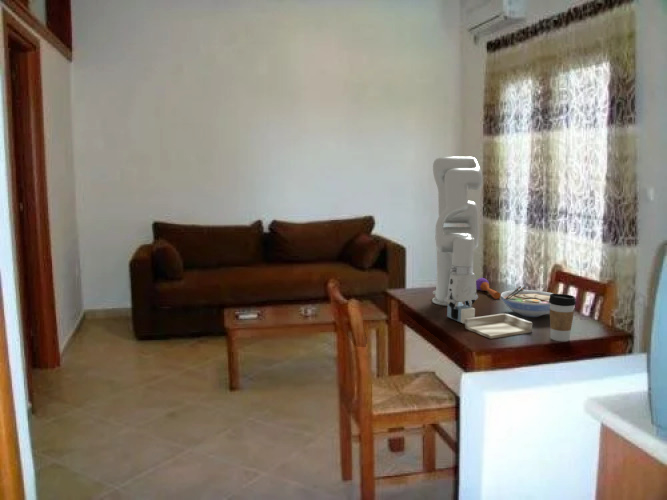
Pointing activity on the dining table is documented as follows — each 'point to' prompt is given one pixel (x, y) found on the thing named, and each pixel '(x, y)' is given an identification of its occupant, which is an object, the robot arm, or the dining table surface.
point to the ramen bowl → (527, 302)
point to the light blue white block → (462, 312)
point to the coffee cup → (561, 316)
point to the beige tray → (498, 325)
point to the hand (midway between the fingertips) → (460, 317)
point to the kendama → (486, 287)
